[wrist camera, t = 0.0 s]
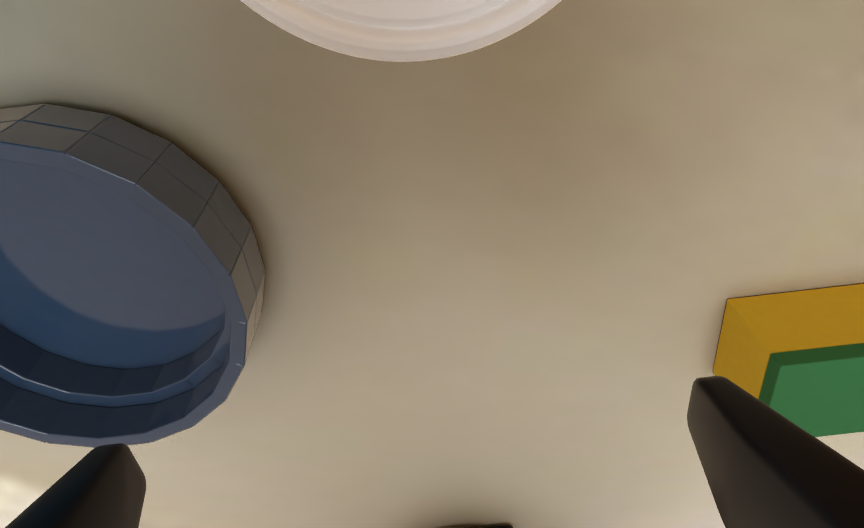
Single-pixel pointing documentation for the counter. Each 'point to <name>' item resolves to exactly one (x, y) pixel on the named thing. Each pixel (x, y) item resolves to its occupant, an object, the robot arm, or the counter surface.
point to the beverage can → (401, 24)
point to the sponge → (799, 355)
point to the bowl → (116, 281)
